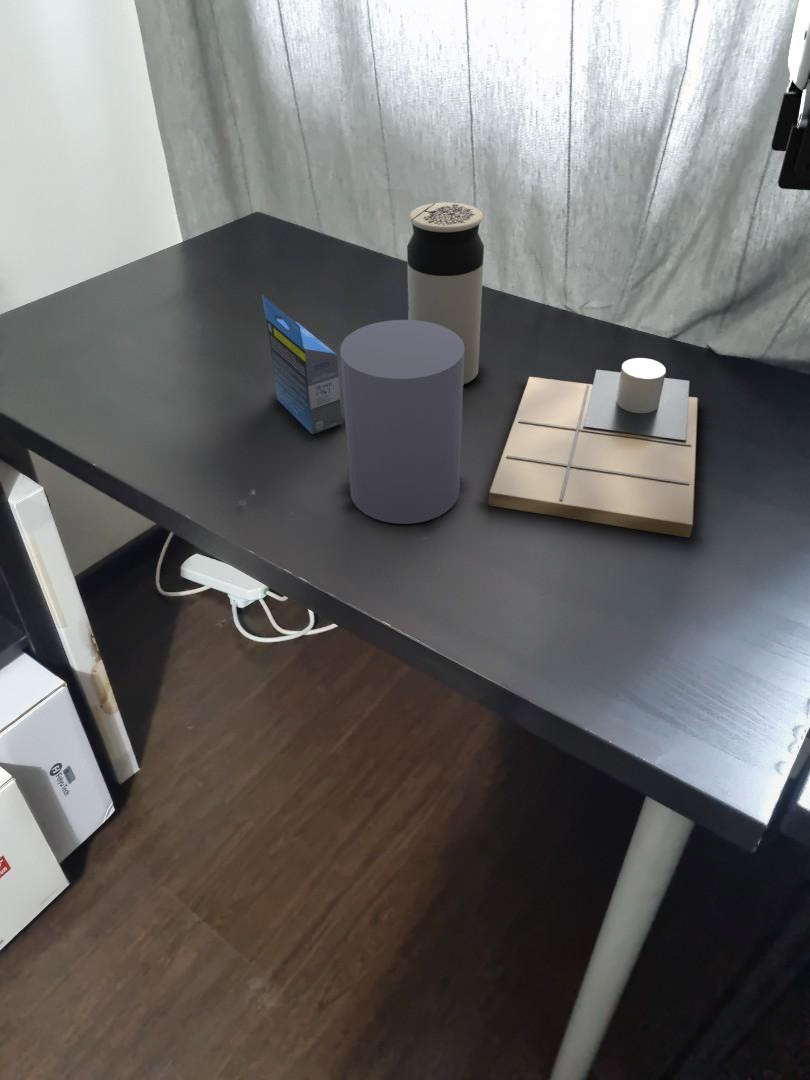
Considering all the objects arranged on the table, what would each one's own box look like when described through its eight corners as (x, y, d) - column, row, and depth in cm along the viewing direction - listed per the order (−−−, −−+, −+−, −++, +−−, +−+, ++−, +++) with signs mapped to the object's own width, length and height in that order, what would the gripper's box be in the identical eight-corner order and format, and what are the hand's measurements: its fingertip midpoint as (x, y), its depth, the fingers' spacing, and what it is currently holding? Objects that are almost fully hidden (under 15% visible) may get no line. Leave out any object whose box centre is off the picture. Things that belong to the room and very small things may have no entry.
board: (695, 395, 91) (699, 382, 89) (689, 538, 72) (693, 523, 71) (532, 375, 95) (533, 361, 93) (487, 505, 76) (488, 490, 75)
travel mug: (491, 368, 96) (500, 210, 84) (453, 397, 91) (457, 234, 79) (434, 349, 100) (435, 196, 88) (395, 377, 95) (391, 218, 83)
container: (474, 473, 80) (481, 330, 70) (436, 537, 73) (439, 388, 63) (376, 451, 83) (370, 312, 74) (331, 511, 76) (318, 365, 66)
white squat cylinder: (660, 394, 88) (667, 360, 85) (657, 416, 84) (665, 381, 82) (617, 389, 89) (623, 355, 86) (614, 410, 85) (619, 375, 83)
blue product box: (344, 425, 87) (336, 316, 79) (311, 436, 86) (299, 326, 78) (306, 389, 93) (294, 284, 85) (274, 399, 91) (259, 293, 83)
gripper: (973, -120, 44) (865, 210, 55) (916, -129, 57) (837, 140, 68) (822, -117, 46) (746, 202, 57) (799, -127, 58) (741, 136, 69)
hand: (796, 168), depth 62 cm, fingers open, 9 cm apart
